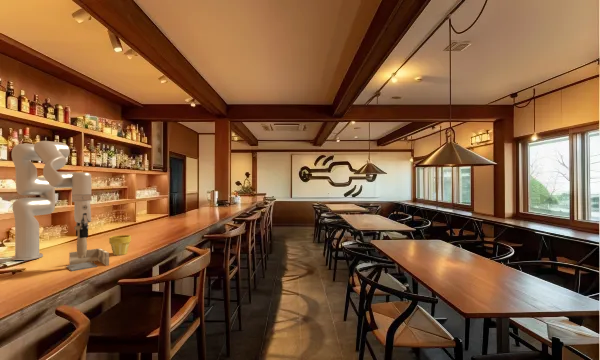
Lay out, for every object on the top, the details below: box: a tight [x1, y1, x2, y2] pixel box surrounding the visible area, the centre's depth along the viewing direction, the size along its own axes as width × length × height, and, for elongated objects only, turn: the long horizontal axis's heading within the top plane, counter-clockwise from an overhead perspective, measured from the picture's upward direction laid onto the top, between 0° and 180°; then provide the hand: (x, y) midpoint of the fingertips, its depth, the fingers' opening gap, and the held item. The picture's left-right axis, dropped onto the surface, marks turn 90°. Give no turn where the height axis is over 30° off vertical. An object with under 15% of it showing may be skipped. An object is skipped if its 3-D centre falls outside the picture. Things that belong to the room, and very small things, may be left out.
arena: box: [68, 247, 110, 267], centre depth 148 cm, size 15×13×6 cm
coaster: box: [66, 261, 98, 272], centre depth 145 cm, size 10×10×1 cm
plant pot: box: [108, 234, 132, 256], centre depth 171 cm, size 10×10×10 cm
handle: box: [73, 224, 90, 258], centre depth 145 cm, size 5×6×15 cm
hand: (82, 236), depth 145 cm, fingers closed on handle, 6 cm apart
